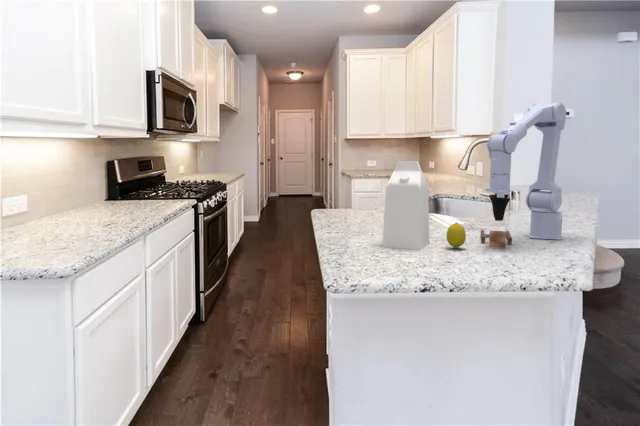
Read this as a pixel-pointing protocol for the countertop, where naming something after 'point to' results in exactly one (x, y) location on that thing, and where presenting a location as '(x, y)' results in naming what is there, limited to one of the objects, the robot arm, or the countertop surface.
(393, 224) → the milk
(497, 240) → the block
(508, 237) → the channel
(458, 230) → the lemon
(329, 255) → the countertop surface
